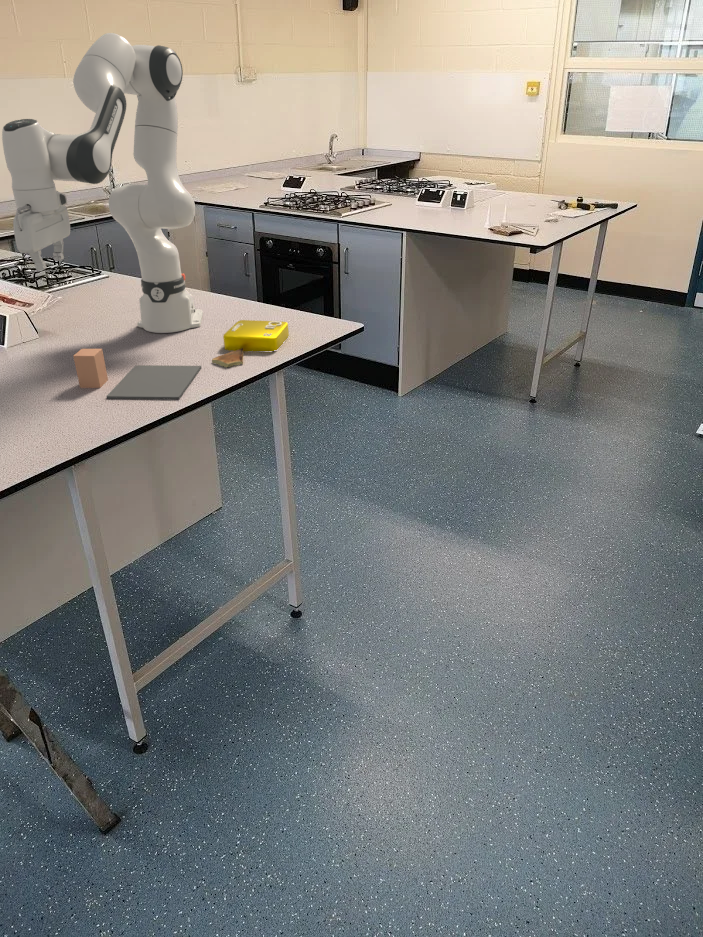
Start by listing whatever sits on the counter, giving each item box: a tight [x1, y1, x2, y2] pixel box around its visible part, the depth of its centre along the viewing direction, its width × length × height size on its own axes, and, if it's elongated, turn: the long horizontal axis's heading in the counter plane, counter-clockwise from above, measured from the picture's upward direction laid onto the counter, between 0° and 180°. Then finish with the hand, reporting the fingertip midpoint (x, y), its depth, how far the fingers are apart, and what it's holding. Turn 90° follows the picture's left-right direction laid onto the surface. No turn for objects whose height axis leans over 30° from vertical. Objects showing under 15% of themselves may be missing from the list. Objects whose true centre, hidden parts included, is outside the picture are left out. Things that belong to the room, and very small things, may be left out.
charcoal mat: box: [106, 364, 202, 400], centre depth 174 cm, size 20×17×1 cm
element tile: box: [222, 319, 290, 352], centre depth 198 cm, size 15×15×5 cm
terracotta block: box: [73, 348, 109, 389], centre depth 172 cm, size 5×5×8 cm
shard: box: [211, 348, 244, 368], centre depth 187 cm, size 11×8×2 cm
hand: (50, 264), depth 166 cm, fingers open, 8 cm apart
